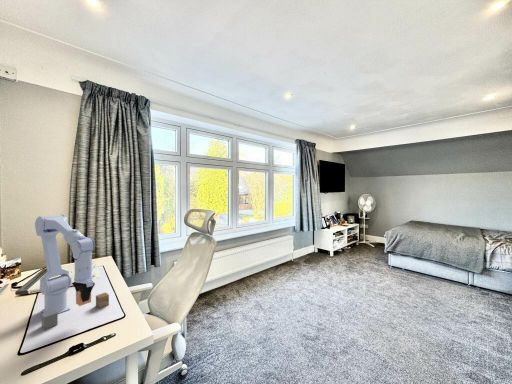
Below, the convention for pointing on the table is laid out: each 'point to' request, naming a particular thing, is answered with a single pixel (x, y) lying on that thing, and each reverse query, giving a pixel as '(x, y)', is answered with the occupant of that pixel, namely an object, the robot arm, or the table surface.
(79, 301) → the terracotta block
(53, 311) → the charcoal block
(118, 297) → the table surface
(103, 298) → the walnut block
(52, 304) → the robot arm
